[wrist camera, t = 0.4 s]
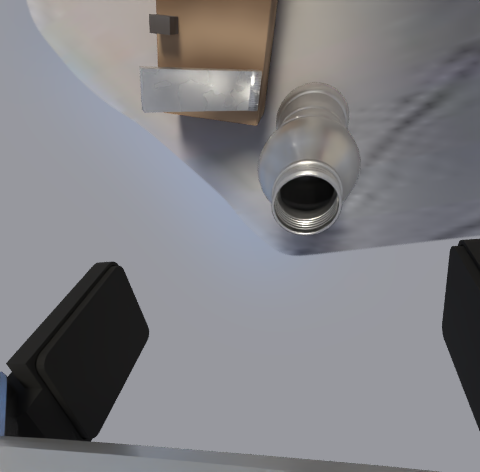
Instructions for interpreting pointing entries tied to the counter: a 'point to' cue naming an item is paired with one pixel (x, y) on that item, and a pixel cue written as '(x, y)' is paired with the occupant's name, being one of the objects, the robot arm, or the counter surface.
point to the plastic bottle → (309, 160)
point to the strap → (199, 89)
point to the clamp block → (217, 42)
